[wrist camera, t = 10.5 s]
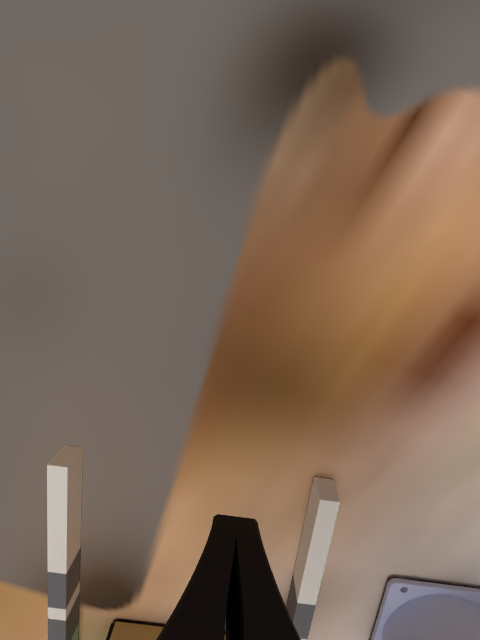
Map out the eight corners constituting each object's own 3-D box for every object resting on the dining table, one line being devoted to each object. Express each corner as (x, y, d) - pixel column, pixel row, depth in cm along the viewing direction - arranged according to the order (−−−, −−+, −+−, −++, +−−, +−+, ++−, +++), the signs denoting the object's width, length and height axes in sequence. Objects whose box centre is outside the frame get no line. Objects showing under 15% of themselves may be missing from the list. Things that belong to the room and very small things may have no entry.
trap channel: (332, 479, 23) (340, 502, 21) (271, 745, 29) (272, 782, 27) (64, 444, 23) (47, 464, 21) (62, 720, 29) (48, 755, 27)
